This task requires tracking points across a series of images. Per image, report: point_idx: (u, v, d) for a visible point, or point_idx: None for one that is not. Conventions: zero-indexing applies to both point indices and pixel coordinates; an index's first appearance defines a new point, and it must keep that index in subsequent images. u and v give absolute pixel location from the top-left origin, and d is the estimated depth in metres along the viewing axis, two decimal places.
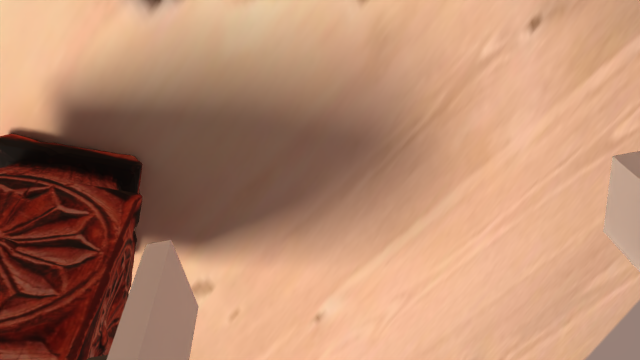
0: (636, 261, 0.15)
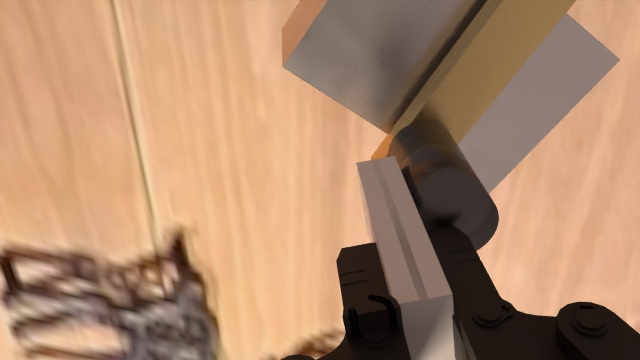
0: None
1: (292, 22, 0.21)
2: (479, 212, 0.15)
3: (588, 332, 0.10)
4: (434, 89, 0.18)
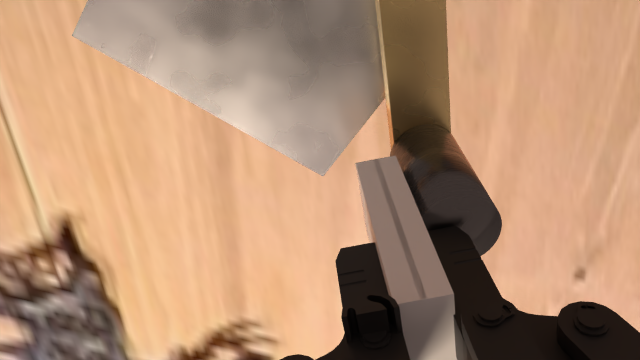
0: None
1: None
2: (468, 211, 0.15)
3: (589, 331, 0.10)
4: (389, 104, 0.18)
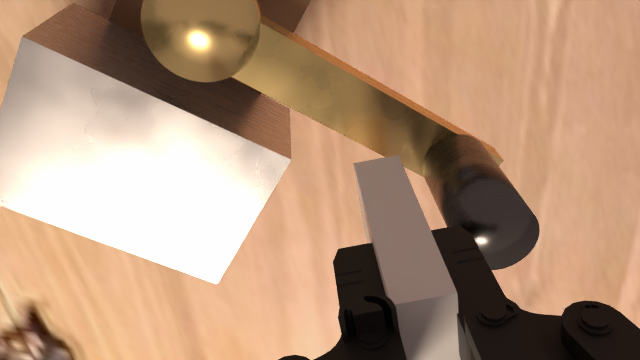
0: None
1: None
2: (487, 222, 0.15)
3: (593, 331, 0.10)
4: None
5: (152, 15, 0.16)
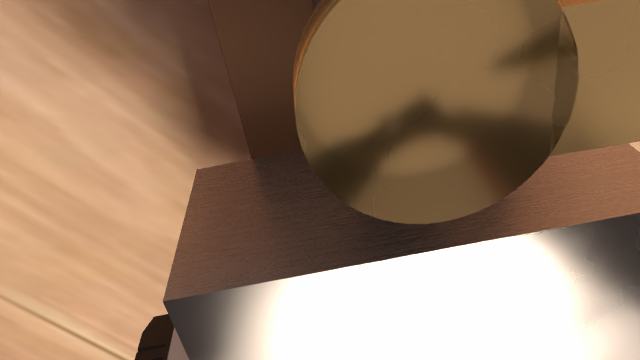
0: None
1: None
2: None
3: None
4: None
5: (334, 155, 0.07)
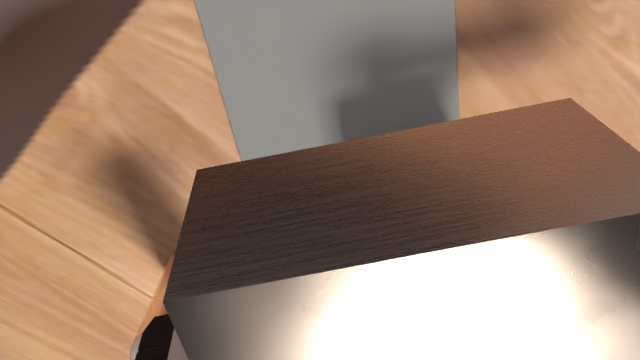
0: None
1: None
2: None
3: None
4: None
5: None
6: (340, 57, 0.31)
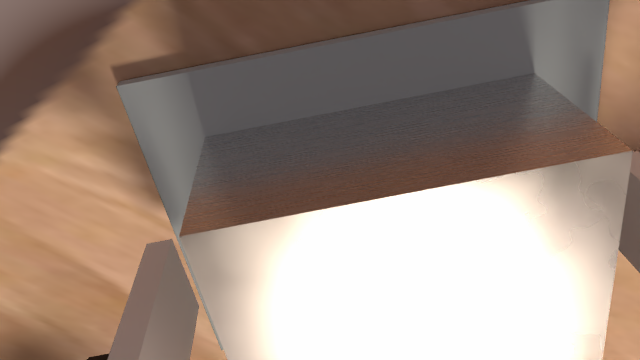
0: (635, 261, 0.15)
1: None
2: None
3: None
4: None
5: None
6: None
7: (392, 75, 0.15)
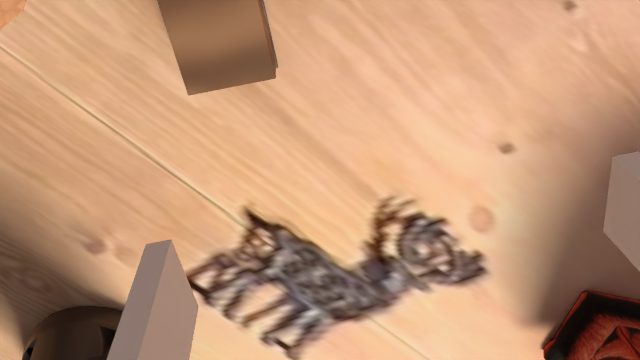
0: (636, 261, 0.15)
1: None
2: None
3: None
4: None
5: None
6: None
7: None
